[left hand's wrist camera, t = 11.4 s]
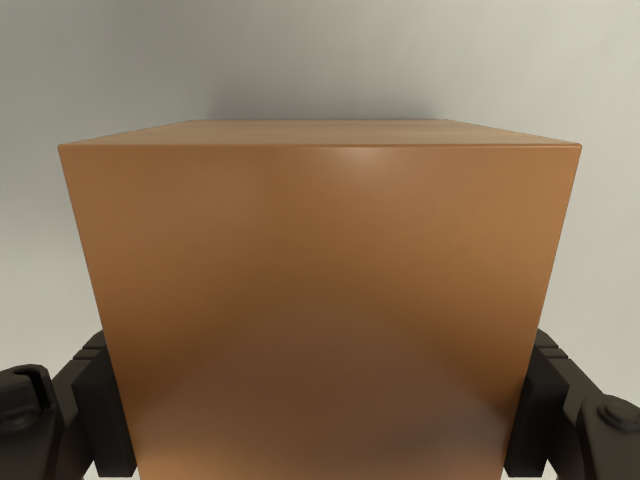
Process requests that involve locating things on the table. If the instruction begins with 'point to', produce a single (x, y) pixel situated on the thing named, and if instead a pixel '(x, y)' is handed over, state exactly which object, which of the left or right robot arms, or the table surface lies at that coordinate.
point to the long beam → (320, 291)
